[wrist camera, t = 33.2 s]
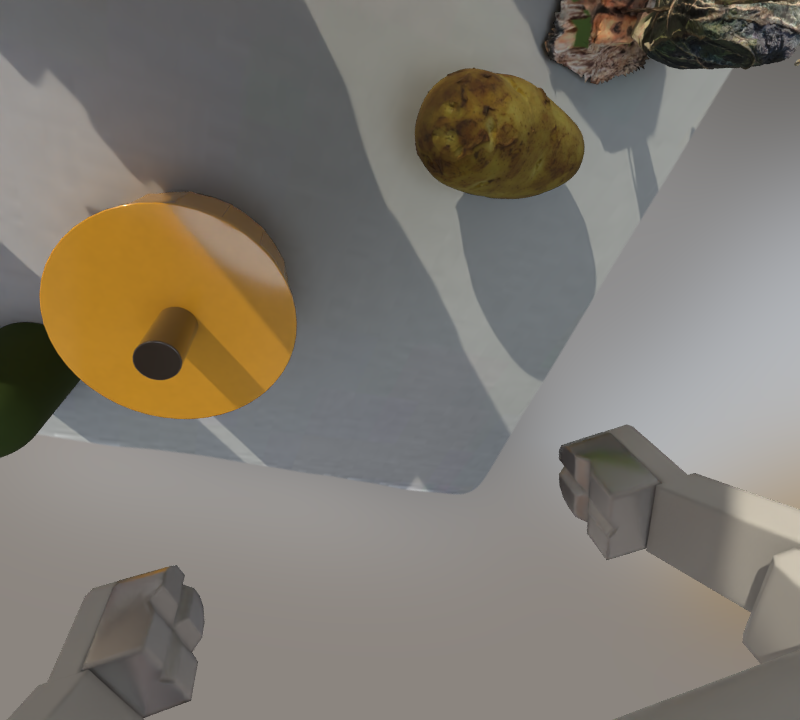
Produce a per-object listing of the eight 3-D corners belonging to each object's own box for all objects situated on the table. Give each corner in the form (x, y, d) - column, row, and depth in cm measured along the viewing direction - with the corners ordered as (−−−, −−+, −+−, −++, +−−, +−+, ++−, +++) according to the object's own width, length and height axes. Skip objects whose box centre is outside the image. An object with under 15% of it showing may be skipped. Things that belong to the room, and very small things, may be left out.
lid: (3, 338, 27) (-67, 391, 22) (126, 140, 24) (79, 146, 18) (220, 440, 34) (207, 500, 28) (339, 297, 30) (350, 335, 25)
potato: (509, 235, 37) (559, 261, 30) (381, 145, 32) (406, 152, 25) (572, 142, 35) (642, 147, 28) (445, 28, 29) (492, 0, 22)
